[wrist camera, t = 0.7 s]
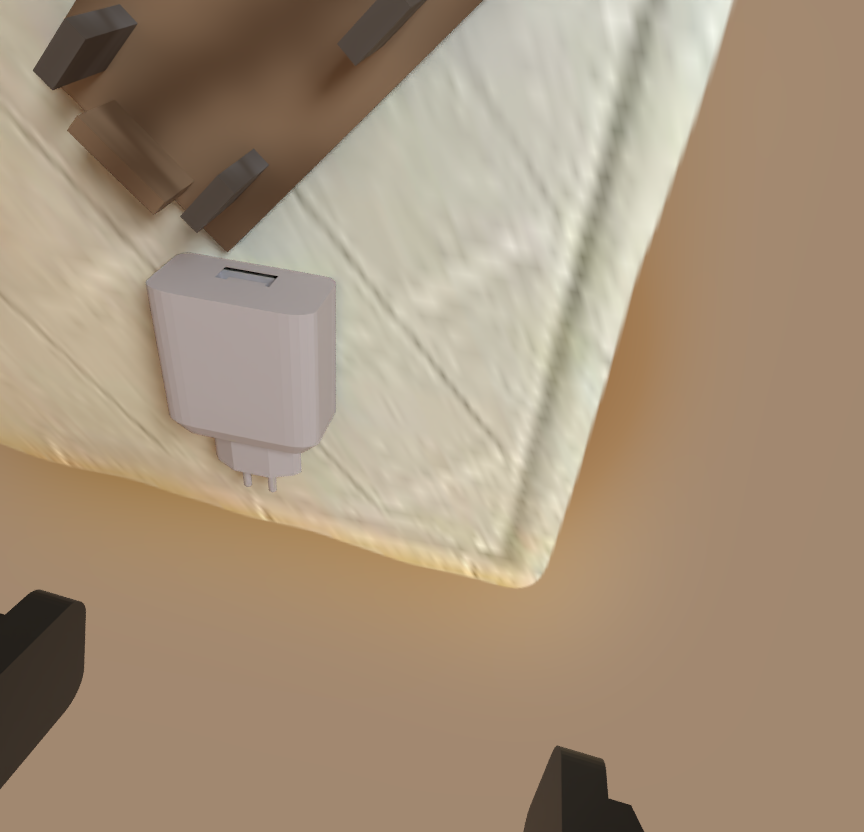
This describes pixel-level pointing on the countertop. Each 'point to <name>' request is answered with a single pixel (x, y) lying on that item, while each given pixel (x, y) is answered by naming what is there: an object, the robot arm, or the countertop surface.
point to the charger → (247, 358)
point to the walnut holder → (231, 91)
